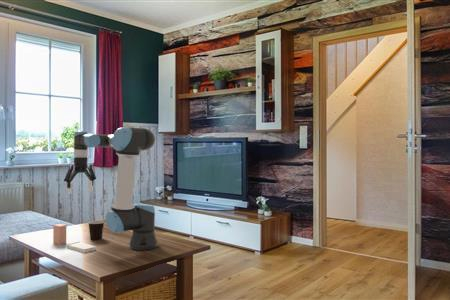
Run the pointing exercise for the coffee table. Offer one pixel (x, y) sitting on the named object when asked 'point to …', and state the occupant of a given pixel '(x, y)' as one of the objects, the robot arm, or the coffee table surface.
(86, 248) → the pad
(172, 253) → the coffee table surface
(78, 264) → the coffee table surface
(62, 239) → the stub
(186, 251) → the coffee table surface
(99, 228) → the coffee mug
